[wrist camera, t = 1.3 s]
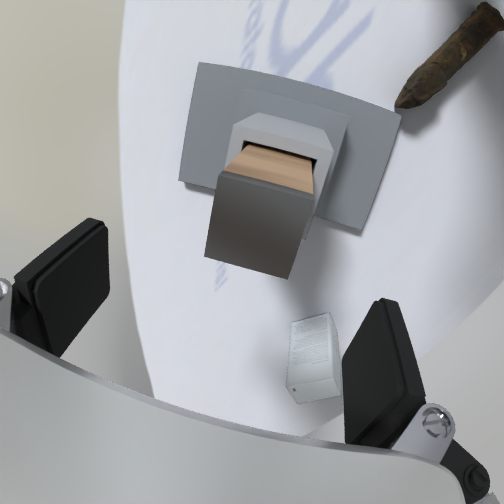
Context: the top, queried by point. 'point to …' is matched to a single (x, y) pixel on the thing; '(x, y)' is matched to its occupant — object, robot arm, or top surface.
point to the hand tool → (451, 56)
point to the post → (261, 210)
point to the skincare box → (313, 360)
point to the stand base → (290, 135)
